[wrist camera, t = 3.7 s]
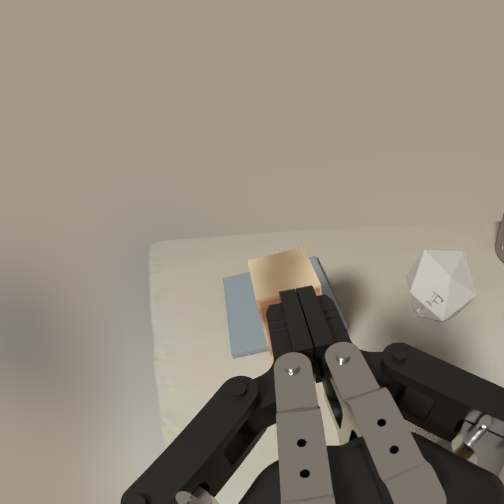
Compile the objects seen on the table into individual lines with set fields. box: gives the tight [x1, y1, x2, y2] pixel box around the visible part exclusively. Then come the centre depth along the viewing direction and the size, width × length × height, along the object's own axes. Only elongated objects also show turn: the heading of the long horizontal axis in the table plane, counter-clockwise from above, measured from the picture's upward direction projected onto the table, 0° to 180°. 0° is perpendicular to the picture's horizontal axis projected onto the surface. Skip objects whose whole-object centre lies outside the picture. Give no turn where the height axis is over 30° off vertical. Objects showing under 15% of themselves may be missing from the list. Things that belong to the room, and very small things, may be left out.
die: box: [406, 250, 476, 321], centre depth 33 cm, size 8×9×10 cm
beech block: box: [248, 247, 322, 380], centre depth 30 cm, size 5×5×14 cm
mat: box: [223, 256, 348, 358], centre depth 42 cm, size 14×14×1 cm
